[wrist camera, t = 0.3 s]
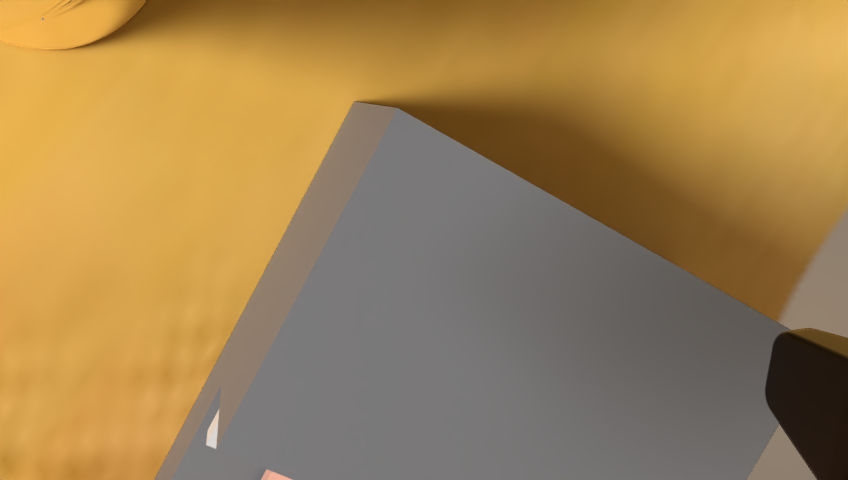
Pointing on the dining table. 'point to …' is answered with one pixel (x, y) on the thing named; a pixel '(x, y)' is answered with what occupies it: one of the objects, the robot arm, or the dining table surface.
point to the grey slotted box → (472, 337)
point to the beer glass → (62, 21)
